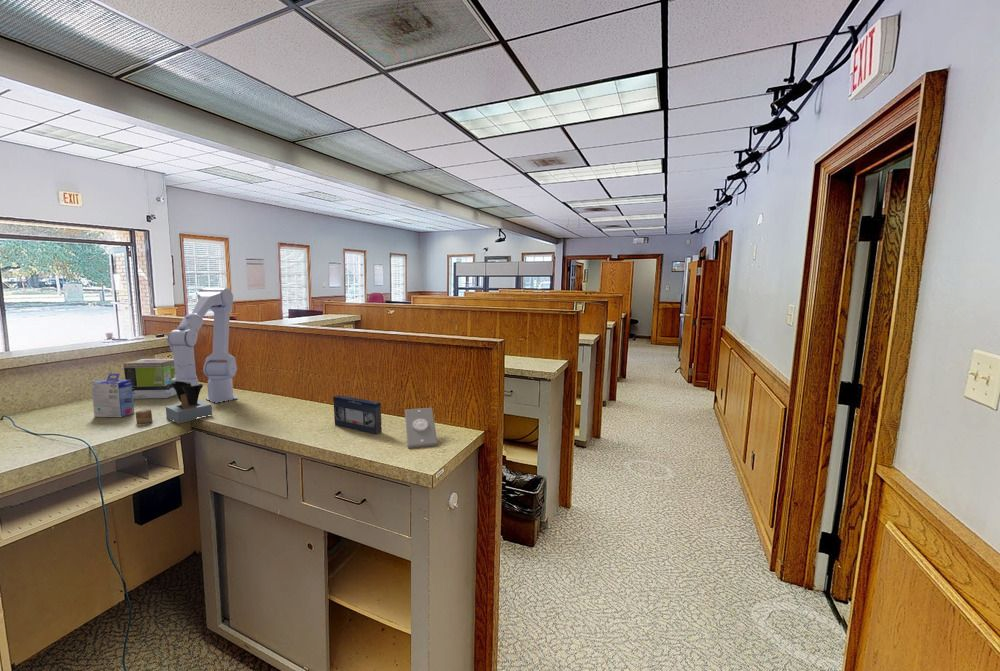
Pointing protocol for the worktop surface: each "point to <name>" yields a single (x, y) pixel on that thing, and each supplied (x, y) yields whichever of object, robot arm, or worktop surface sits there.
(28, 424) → the worktop surface
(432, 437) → the light switch
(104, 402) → the ink cartridge box
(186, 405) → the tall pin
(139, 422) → the brown wooden cube
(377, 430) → the vhs cassette tape
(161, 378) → the tea box
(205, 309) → the robot arm
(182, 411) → the block
